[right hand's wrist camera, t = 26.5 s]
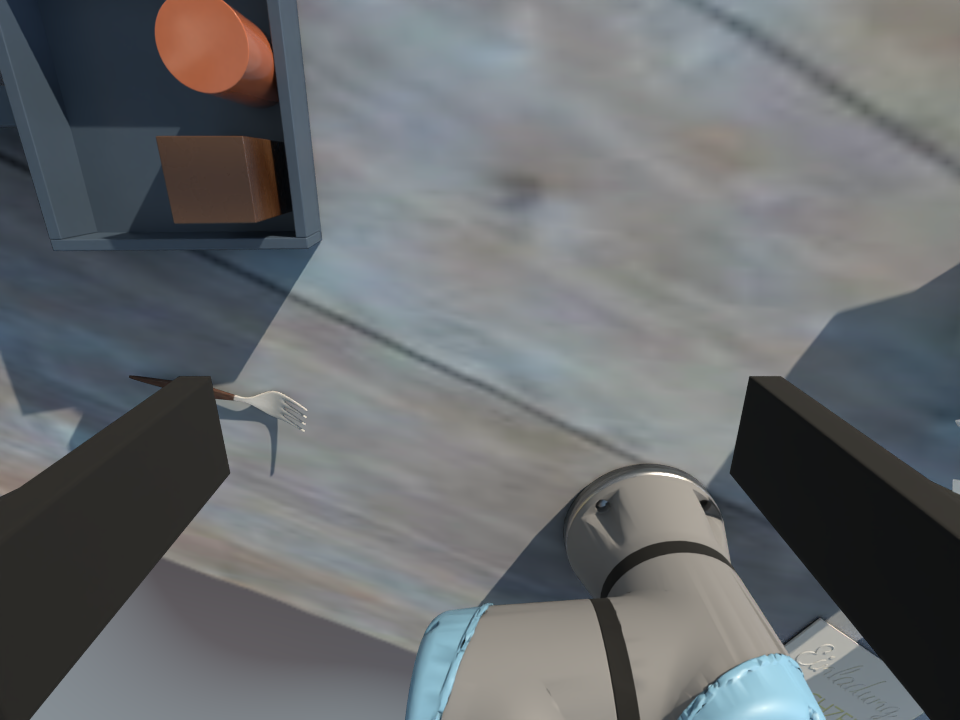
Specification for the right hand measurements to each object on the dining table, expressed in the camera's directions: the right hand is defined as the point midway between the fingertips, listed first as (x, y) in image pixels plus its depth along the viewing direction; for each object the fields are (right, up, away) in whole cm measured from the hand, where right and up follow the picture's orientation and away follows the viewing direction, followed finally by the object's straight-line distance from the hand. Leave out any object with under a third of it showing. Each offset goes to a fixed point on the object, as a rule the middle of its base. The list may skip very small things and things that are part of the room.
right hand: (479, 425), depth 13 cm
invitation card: (+41, -38, +47) cm, 73 cm away
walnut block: (-17, +15, +26) cm, 35 cm away
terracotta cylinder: (-16, +22, +24) cm, 36 cm away
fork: (-23, -1, +33) cm, 41 cm away
